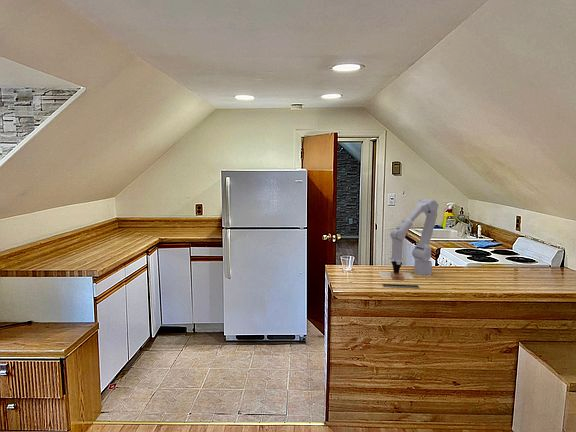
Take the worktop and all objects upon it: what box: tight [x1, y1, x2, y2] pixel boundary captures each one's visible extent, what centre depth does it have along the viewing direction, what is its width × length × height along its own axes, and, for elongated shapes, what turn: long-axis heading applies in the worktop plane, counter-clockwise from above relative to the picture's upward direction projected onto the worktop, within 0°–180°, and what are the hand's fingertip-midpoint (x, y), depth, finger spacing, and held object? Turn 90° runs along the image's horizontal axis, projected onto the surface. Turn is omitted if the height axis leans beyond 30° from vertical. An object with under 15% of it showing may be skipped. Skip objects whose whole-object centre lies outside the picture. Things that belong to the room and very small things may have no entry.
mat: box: [382, 283, 420, 289], centre depth 222 cm, size 18×14×1 cm
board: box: [377, 271, 415, 280], centre depth 236 cm, size 18×13×1 cm
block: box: [390, 271, 405, 281], centre depth 229 cm, size 6×8×2 cm
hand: (396, 274), depth 234 cm, fingers closed
